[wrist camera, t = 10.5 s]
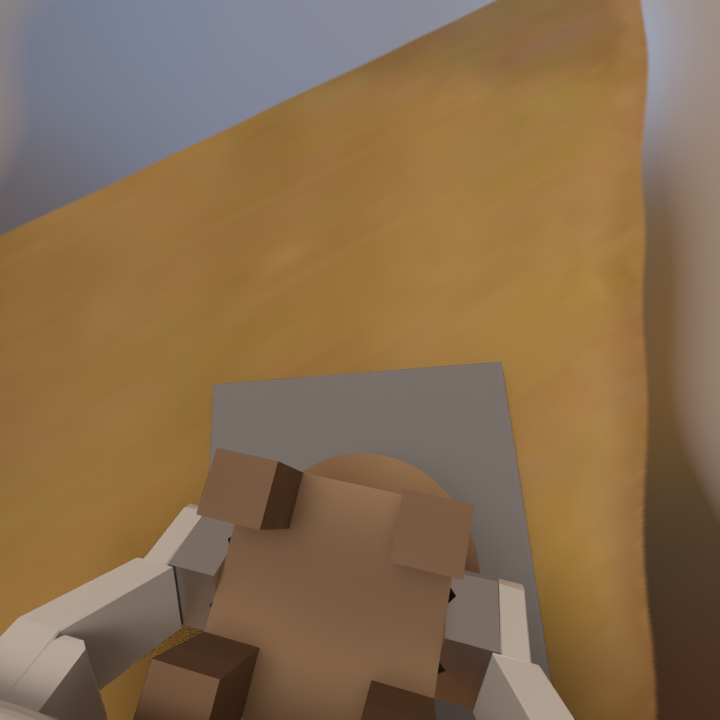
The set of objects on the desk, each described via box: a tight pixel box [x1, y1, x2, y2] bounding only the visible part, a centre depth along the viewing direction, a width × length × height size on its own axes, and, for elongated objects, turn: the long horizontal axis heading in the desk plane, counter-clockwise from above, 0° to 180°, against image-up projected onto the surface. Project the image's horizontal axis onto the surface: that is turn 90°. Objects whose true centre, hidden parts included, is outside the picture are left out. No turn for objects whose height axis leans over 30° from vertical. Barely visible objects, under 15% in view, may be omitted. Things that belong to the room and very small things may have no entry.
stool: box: [133, 448, 480, 720], centre depth 11 cm, size 7×7×9 cm
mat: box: [202, 362, 551, 720], centre depth 21 cm, size 16×14×1 cm
